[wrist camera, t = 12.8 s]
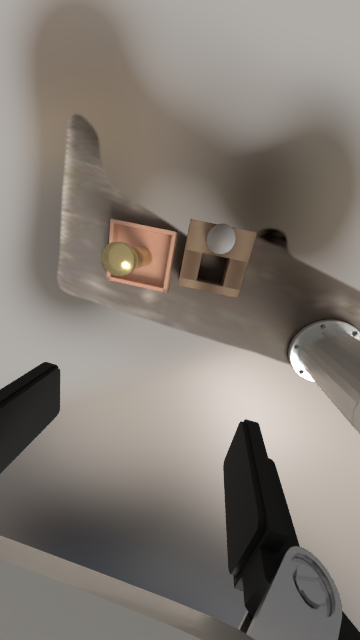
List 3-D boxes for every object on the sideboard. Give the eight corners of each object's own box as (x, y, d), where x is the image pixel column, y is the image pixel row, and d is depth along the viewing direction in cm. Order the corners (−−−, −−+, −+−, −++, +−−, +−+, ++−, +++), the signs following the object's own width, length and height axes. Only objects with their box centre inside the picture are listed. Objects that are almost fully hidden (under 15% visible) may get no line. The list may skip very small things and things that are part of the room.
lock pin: (156, 247, 35) (135, 245, 24) (153, 271, 36) (131, 279, 26) (133, 242, 35) (102, 238, 25) (131, 266, 36) (101, 272, 26)
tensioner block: (251, 234, 33) (260, 231, 27) (234, 293, 36) (239, 300, 31) (192, 223, 33) (189, 217, 28) (180, 281, 37) (176, 286, 31)
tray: (178, 233, 34) (176, 231, 32) (168, 290, 37) (165, 292, 35) (117, 220, 35) (110, 218, 32) (112, 277, 38) (106, 279, 36)
